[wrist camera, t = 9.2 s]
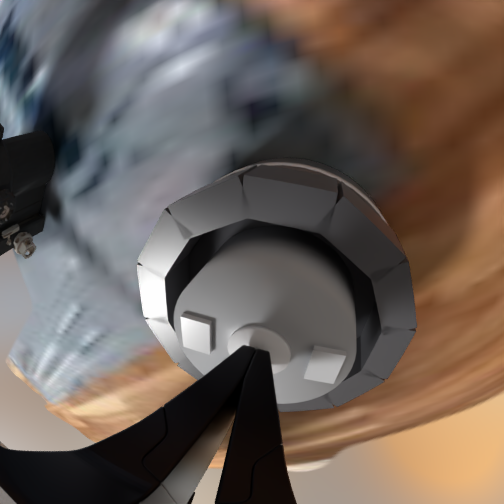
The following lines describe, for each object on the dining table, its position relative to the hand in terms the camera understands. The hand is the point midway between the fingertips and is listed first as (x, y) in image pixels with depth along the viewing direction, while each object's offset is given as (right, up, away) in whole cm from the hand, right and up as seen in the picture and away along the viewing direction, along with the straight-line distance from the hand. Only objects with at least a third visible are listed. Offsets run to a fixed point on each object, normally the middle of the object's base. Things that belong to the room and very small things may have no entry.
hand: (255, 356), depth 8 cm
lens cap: (+1, +1, +3) cm, 3 cm away
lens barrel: (+2, +3, +5) cm, 6 cm away
